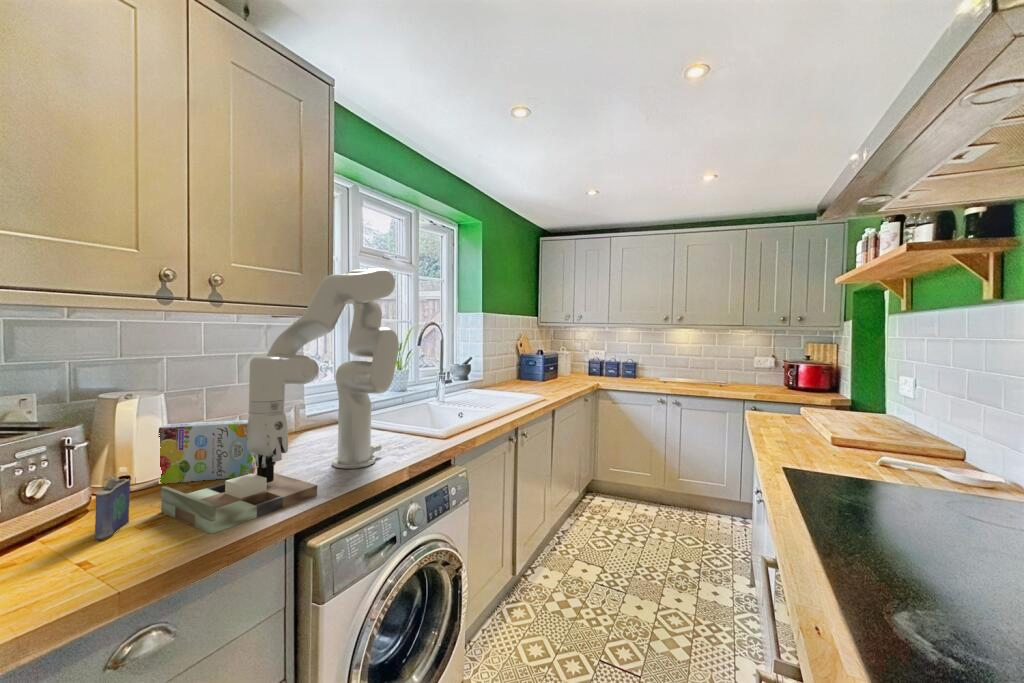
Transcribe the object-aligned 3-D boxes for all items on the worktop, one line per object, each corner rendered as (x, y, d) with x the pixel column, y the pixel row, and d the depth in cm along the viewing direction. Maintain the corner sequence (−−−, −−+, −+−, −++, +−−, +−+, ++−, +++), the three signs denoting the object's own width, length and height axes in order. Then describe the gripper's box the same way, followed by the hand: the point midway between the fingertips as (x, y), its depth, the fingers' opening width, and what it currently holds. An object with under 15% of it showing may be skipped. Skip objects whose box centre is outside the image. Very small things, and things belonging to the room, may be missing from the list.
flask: (108, 540, 81) (108, 484, 81) (88, 542, 80) (88, 485, 80) (132, 520, 90) (132, 469, 89) (114, 521, 89) (115, 470, 88)
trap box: (267, 480, 115) (268, 460, 115) (317, 495, 105) (317, 473, 105) (161, 512, 94) (161, 487, 94) (211, 534, 84) (211, 506, 84)
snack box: (255, 471, 122) (256, 418, 122) (251, 477, 117) (252, 422, 117) (165, 478, 114) (165, 422, 114) (156, 485, 109) (156, 427, 109)
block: (251, 485, 104) (251, 473, 104) (266, 490, 101) (266, 477, 101) (225, 493, 99) (225, 480, 99) (240, 498, 96) (240, 485, 96)
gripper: (300, 408, 103) (299, 483, 104) (263, 402, 110) (261, 472, 111) (270, 412, 97) (269, 493, 97) (233, 406, 104) (231, 481, 104)
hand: (265, 482), depth 104 cm, fingers closed
